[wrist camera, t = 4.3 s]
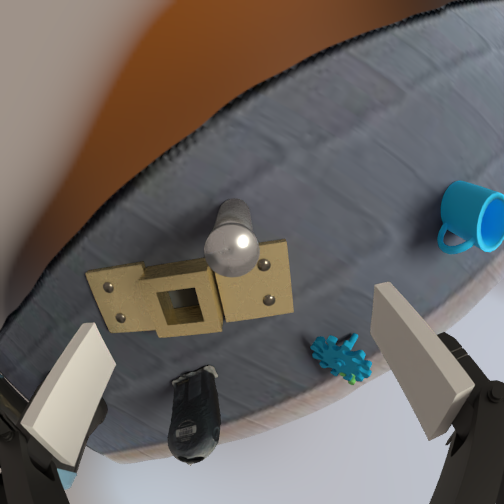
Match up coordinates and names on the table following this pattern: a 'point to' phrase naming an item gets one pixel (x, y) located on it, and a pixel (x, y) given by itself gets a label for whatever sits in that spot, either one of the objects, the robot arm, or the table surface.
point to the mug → (472, 217)
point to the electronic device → (194, 416)
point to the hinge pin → (232, 241)
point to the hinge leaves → (202, 278)
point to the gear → (342, 358)
